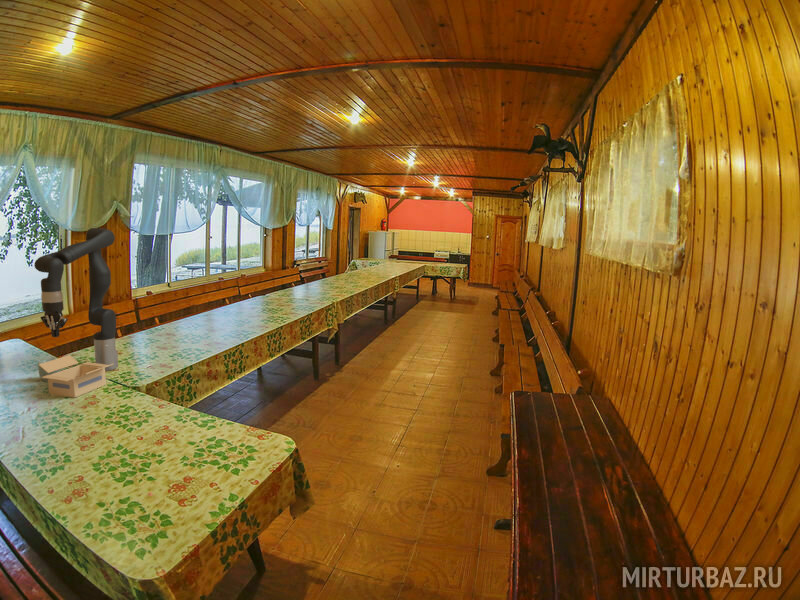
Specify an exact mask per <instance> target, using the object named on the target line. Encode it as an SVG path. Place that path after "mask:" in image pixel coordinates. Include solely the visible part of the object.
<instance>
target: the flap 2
mask: <svg viewBox="0 0 800 600" xmlns="http://www.w3.org/2000/svg"><path fill="white" fill-rule="evenodd" d="M113 364H114V363H113ZM113 364H110V365H113ZM110 365H107V366H110ZM107 366H105V367H107ZM105 367H102V368H105ZM102 368H99V369H102ZM99 369H96V370H99ZM96 370H93V371H90V372H88V373H91V372H94V371H96ZM88 373H85V374H88ZM85 374H82V375H85ZM82 375H79V376H82ZM79 376H76V377H79Z"/></svg>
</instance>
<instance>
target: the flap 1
mask: <svg viewBox="0 0 800 600" xmlns="http://www.w3.org/2000/svg"><path fill="white" fill-rule="evenodd" d="M54 359H55V360H51V361H48V362H45V363H41V364H38V363H37V366H38V365H39V366H40V367H41V368H42V369H43V370H45V371H46V372H47V373H51V372H54V371H57V370H60V371H61V370H62V369H63V370H64V369H65V368H66V369H67V368H68V367H69V368H70V367H73V366H75V365H78V364H79V361H77V360H76V359H75V358H74V357H73V356H72V355H70V354H69V355H66V356H62V357H61V356H60V357H59V358H54Z"/></svg>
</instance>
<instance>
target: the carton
mask: <svg viewBox="0 0 800 600" xmlns="http://www.w3.org/2000/svg"><path fill="white" fill-rule="evenodd" d="M105 366H107V365H105V364H98V363H95V362H89V361H86V362H84V363H81V364H79V365H78V364H77V365H76V366H75V365H74V366H71V367H69V368H66V369H63V370H60V372H57V373H54V374H51V375H46V376H43V377H41V378H45V379H48V382H47V384H48V386H47V387H48V394H49V395H52V396H53V395H54V396H58V397H64V398H65V397H66V398H71V397H72V399H73V398H74V399H77V398H78V396H79V397H81V396H84V395H86V394H89V393H91V392H93V391H92V390H94V391H96V390H98V389H97V388H99V387H101V386H104V385H106V386H107V382H106V380H107V379H106V371H105V368H102V369H99V368H101V367H105ZM107 367H108V366H107ZM96 369H99V370H96ZM93 370H96V371H94V372H91V373H88V372H90V371H93ZM85 373H88V374H85ZM82 374H85V375H82ZM79 375H82V376H79ZM76 376H79V377H76ZM41 378H40V379H41ZM104 387H105V386H104ZM101 388H102V387H101ZM95 389H96V390H95ZM99 389H100V388H99ZM90 391H91V392H90ZM88 392H89V393H88ZM85 393H86V394H85ZM83 394H84V395H83ZM80 395H81V396H80ZM76 397H77V398H76Z"/></svg>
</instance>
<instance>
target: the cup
mask: <svg viewBox="0 0 800 600" xmlns="http://www.w3.org/2000/svg"><path fill="white" fill-rule="evenodd" d="M55 359H56V358H47V359H46V358H45V359H42V360H40V361H38V363H37V369H38V375H39V378H40V380H41V381H42V382H45V383H46V382H47V383H48V379H45V378H41V377H43V376H46V375H51V374H54V373H57V372H60V371H61V369H60V370H57V371H54V372H51V373H47V372H46V371H45V370H43V369H42V368H41V367H40V366H39V365H38V364H41V363H45V362H48V361H51V360H55Z"/></svg>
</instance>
